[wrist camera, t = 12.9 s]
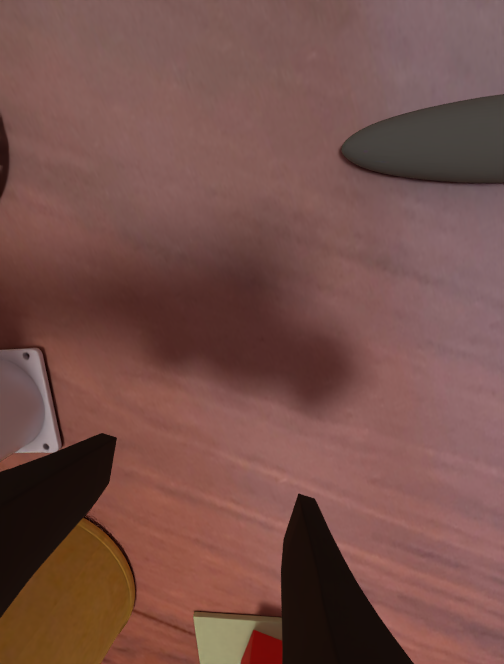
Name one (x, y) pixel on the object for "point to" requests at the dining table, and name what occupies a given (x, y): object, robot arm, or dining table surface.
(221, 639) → the mat
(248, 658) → the toy building block
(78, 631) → the piping tip
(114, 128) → the dining table surface
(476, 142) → the paintbrush
